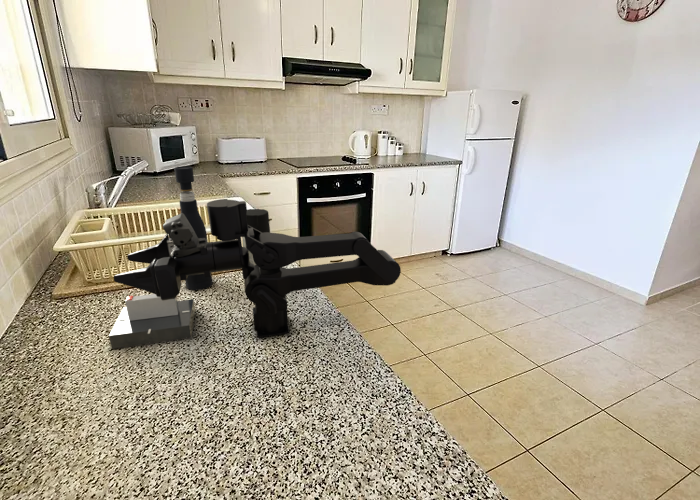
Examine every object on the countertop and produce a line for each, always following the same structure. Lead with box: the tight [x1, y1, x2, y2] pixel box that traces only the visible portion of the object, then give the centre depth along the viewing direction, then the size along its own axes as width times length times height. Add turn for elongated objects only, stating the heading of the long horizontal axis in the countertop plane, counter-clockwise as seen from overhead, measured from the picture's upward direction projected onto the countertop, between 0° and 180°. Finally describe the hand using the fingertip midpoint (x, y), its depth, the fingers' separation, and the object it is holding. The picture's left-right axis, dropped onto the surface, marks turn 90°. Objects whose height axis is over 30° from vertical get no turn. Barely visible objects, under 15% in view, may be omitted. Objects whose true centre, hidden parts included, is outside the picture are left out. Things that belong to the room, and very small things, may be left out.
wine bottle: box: [173, 165, 214, 291], centre depth 91 cm, size 6×6×30 cm
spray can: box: [241, 208, 271, 265], centre depth 92 cm, size 7×7×20 cm
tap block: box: [108, 298, 196, 350], centre depth 77 cm, size 14×13×3 cm
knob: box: [124, 293, 179, 321], centre depth 76 cm, size 9×2×5 cm, turn 107°
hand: (121, 267), depth 66 cm, fingers open, 9 cm apart
